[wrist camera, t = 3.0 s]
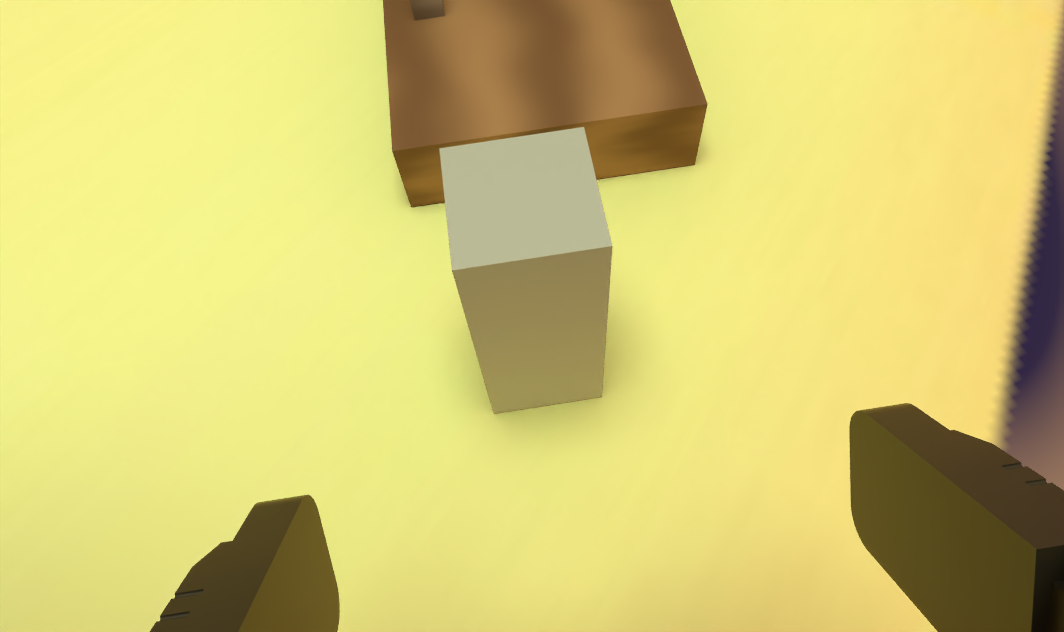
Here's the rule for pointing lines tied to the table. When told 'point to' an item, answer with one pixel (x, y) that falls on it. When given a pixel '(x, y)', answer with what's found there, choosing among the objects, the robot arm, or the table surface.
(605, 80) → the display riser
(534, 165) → the slate post
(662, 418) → the table surface
